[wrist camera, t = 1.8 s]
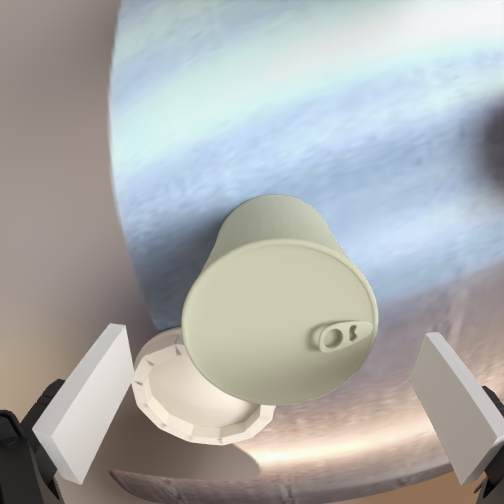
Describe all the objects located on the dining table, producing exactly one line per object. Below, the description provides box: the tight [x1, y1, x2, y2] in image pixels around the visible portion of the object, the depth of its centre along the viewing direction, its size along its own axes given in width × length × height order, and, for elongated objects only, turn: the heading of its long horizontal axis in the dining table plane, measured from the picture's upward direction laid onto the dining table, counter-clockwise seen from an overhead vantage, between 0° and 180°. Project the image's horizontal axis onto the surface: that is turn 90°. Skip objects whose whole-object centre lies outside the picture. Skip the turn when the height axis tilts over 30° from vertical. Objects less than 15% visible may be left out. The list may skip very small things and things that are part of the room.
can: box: [181, 195, 378, 406], centre depth 19 cm, size 9×9×12 cm
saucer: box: [131, 326, 276, 445], centre depth 29 cm, size 14×14×2 cm
